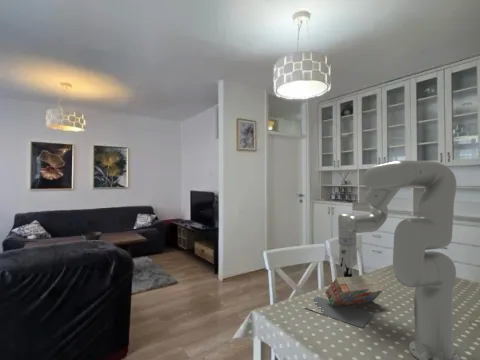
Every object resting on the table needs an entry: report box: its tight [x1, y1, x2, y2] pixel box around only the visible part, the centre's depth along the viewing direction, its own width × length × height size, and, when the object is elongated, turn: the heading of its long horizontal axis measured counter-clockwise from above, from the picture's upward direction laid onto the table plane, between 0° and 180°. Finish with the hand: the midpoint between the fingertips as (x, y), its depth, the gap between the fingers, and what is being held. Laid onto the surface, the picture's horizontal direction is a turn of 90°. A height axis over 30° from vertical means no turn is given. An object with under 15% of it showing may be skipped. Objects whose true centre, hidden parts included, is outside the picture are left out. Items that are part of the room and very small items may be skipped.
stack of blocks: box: [325, 275, 384, 306], centre depth 113 cm, size 21×6×12 cm
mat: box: [312, 296, 375, 329], centre depth 109 cm, size 14×24×1 cm, turn 49°
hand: (348, 281), depth 118 cm, fingers closed
